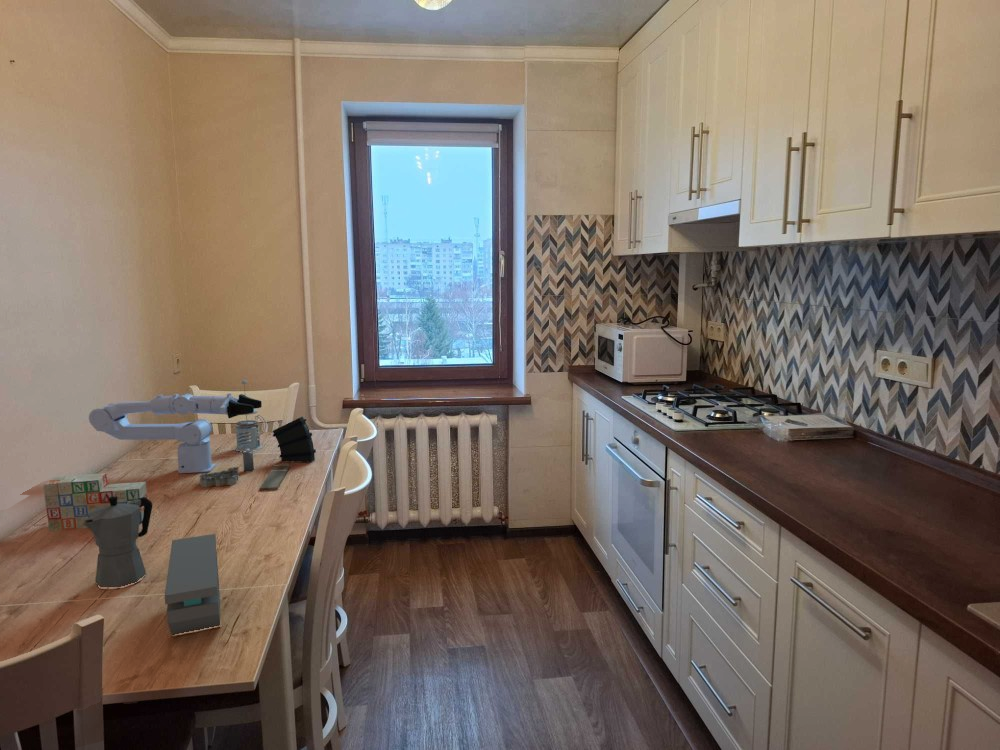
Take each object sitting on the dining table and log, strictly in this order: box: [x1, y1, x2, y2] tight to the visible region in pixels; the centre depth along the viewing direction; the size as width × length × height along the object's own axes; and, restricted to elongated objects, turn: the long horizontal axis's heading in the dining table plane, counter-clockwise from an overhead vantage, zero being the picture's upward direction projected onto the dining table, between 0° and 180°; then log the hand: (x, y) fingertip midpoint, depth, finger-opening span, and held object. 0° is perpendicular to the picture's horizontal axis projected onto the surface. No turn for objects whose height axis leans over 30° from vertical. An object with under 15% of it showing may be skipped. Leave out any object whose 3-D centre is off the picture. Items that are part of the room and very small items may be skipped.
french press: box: [234, 379, 267, 452], centre depth 240 cm, size 10×12×25 cm
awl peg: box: [242, 449, 255, 472], centre depth 215 cm, size 3×3×7 cm
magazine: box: [272, 416, 317, 463], centre depth 225 cm, size 4×13×15 cm, turn 83°
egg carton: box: [199, 466, 240, 488], centre depth 203 cm, size 11×8×4 cm
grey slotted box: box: [164, 533, 221, 636], centre depth 123 cm, size 25×8×11 cm, turn 23°
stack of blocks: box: [43, 472, 148, 532], centre depth 170 cm, size 21×6×12 cm, turn 103°
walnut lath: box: [259, 463, 291, 492], centre depth 207 cm, size 5×24×1 cm, turn 9°
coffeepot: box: [83, 496, 154, 587], centre depth 139 cm, size 15×9×18 cm, turn 159°
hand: (257, 406), depth 215 cm, fingers open, 7 cm apart
